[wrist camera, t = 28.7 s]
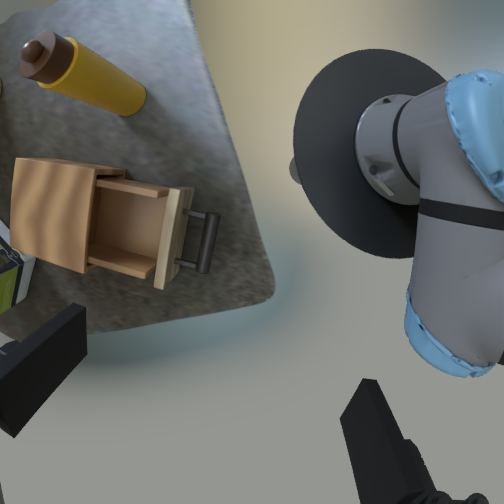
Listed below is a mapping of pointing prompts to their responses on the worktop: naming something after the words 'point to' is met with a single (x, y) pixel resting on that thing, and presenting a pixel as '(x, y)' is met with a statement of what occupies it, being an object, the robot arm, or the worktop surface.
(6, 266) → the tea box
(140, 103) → the pepper mill
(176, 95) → the worktop surface
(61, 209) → the cabinet
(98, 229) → the drawer
